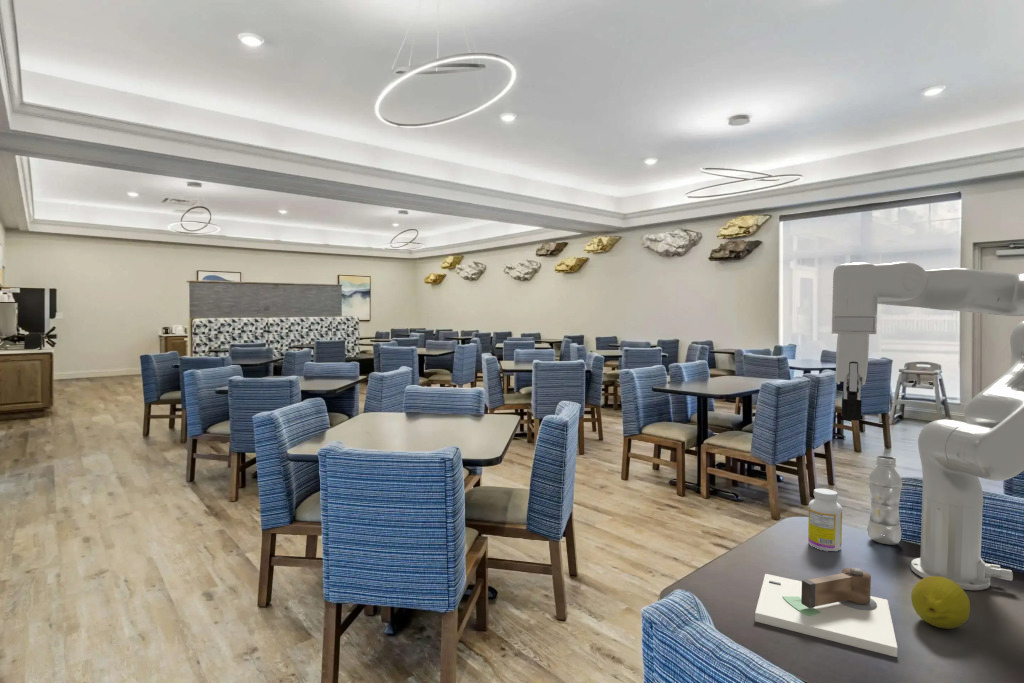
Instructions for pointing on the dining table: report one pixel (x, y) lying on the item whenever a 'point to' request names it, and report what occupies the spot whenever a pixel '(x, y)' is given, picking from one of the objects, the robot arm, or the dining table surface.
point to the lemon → (940, 602)
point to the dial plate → (827, 617)
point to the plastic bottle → (885, 502)
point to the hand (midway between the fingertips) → (851, 419)
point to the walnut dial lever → (837, 588)
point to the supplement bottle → (825, 521)
